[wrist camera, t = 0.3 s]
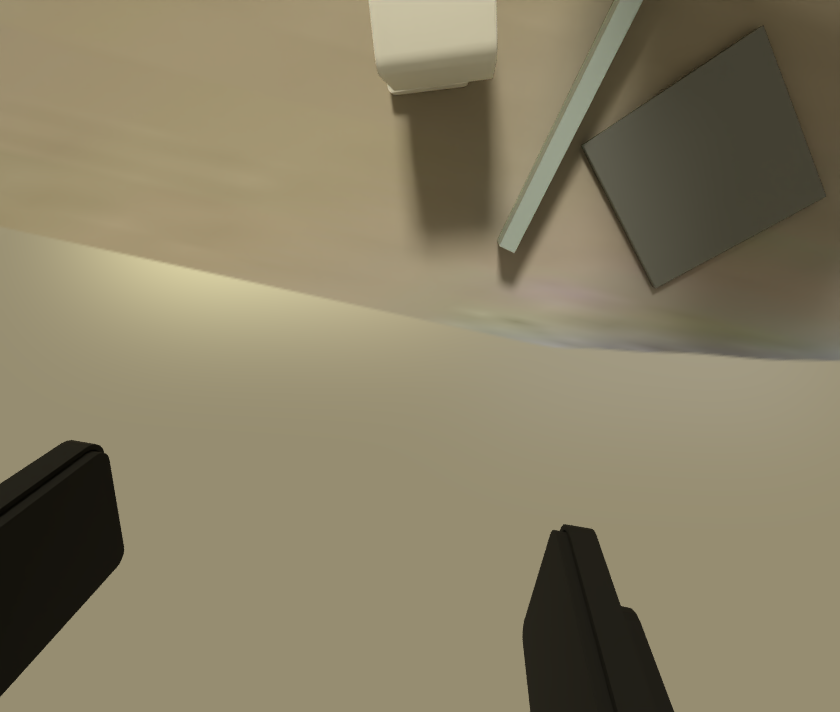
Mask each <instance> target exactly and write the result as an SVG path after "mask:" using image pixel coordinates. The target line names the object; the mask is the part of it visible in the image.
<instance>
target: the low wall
mask: <svg viewBox="0 0 840 712" xmlns="http://www.w3.org/2000/svg"><path fill="white" fill-rule="evenodd" d="M642 1H643V0H614V2H613V4H612V6H611V8H610V10H609V12H608V14H607V16H606V18H605V20H604V22H603V24H602V26H601V28H600V30H599V32H598V34H597V36H596V38H595V41H594V43H593V45H592V47H591V49H590V51H589V53H588V55H587V57H586V59H585V61H584V63H583V65H582V67H581V69H580V71H579V73H578V75H577V77H576V79H575V82H574V84H573V86H572V88H571V90H570V92H569V94H568V96H567V98H566V100H565V102H564V104H563V106H562V108H561V110H560V112H559V114H558V116H557V118H556V121H555V123H554V125H553V127H552V129H551V131H550V133H549V135H548V137H547V139H546V141H545V143H544V145H543V147H542V149H541V151H540V153H539V155H538V157H537V160H536V162H535V164H534V166H533V168H532V170H531V172H530V174H529V176H528V178H527V180H526V182H525V184H524V186H523V188H522V190H521V192H520V194H519V196H518V199H517V201H516V203H515V205H514V207H513V209H512V211H511V213H510V215H509V217H508V219H507V221H506V223H505V225H504V227H503V229H502V231H501V233H500V235H499V237H498V240H497V241H498V244H499V246H500V247H503V248H505V249H507V250H509V251H511V252H513V253H515V251H516V249H517V247H518V245H519V243H520V241H521V239H522V237H523V235H524V233H525V231H526V229H527V227H528V225H529V224H530V222H531V220H532V218H533V216H534V214H535V212H536V210H537V208H538V206H539V204H540V202H541V200H542V198H543V196H544V194H545V192H546V190H547V188H548V186H549V184H550V182H551V180H552V178H553V176H554V174H555V172H556V170H557V168H558V167H559V165H560V163H561V161H562V159H563V157H564V155H565V153H566V151H567V149H568V147H569V145H570V143H571V141H572V139H573V137H574V135H575V133H576V131H577V129H578V127H579V125H580V123H581V121H582V119H583V117H584V115H585V113H586V112H587V110H588V108H589V106H590V104H591V102H592V100H593V98H594V96H595V94H596V92H597V90H598V88H599V86H600V84H601V82H602V80H603V78H604V76H605V74H606V72H607V70H608V68H609V66H610V64H611V62H612V60H613V58H614V56H615V55H616V53H617V51H618V49H619V47H620V45H621V43H622V41H623V39H624V37H625V35H626V33H627V31H628V29H629V27H630V25H631V23H632V21H633V19H634V17H635V15H636V13H637V11H638V9H639V7H640V5H641V3H642Z"/></svg>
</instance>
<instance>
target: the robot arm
mask: <svg viewBox="0 0 840 712" xmlns="http://www.w3.org/2000/svg"><path fill="white" fill-rule="evenodd" d="M123 554H124V544H123V538H122V532H121V526H120V521H119V514H118V509H117V502H116V497H115V490H114V484H113V478H112V472H111V467H110V461H109V457H108V455H107V454H105V453H104V451H103V448H102V447H101V446H99V445H96V444H91V443H85V442H79V441H74V440H70V441H66V442H64V443H61V444H60V445H58V446H57V447H55V448H54V449H52V450H51V451H49V452H48V453H46V454H45V455H43V456H42V457H40V458H39V459H37V460H36V461H34V462H33V463H31V464H30V465H28V466H26V467H25V468H23V469H22V470H20V471H19V472H18V473H16V474H14V475H13V476H11V477H10V478H8V479H7V480H5V481H4V482H2V483H1V484H0V696H1V695H2V694H3V693H4V692H5V691H6V690H7V689H8V688H9V686H10V685H11V684H12V683H13V682H14V681H15V680H16V679H17V678H18V676H19V675H20V674H21V673H22V672H23V671H24V670H25V669H26V668H27V666H28V665H29V664H30V663H31V662H32V661H33V660H34V659H35V657H36V656H37V655H38V654H39V653H40V652H41V651H42V650H43V649H44V648H45V646H46V645H47V644H48V643H49V642H50V641H51V640H52V639H53V638H54V636H55V635H56V634H57V633H58V632H59V631H60V630H61V629H62V628H63V626H64V625H65V624H66V623H67V622H68V621H69V620H70V619H71V618H72V616H73V615H74V614H75V613H76V612H77V611H78V610H79V609H80V608H81V606H82V605H83V604H84V603H85V602H86V601H87V600H88V599H89V598H90V596H91V595H92V594H93V593H94V592H95V591H96V590H97V589H98V587H99V586H100V585H101V584H102V583H103V582H104V581H105V580H106V578H107V577H108V576H109V575H110V574H111V573H112V572H113V571H114V570H115V569H116V567H117V566H118V565H119V563H120V561H121V559H122V557H123ZM523 648H524V657H525V666H526V675H527V685H528V693H529V703H530V712H674V710H673V708H672V705H671V702H670V700H669V697H668V694H667V692H666V689H665V687H664V684H663V681H662V678H661V676H660V673H659V670H658V668H657V665H656V662H655V660H654V657H653V654H652V652H651V649H650V647H649V644H648V641H647V639H646V636H645V633H644V631H643V628H642V625H641V623H640V621H639V619H638V616H637V614H636V613H635V612H634V611H633V610H632V609H631V608H628V607H622V606H621V605H620V602H619V600H618V597H617V594H616V591H615V588H614V585H613V582H612V579H611V577H610V573H609V570H608V568H607V565H606V562H605V559H604V556H603V553H602V550H601V548H600V544H599V541H598V539H597V536H596V534H595V532H594V530H593V529H589V528H584V527H578V526H572V525H566V524H565V525H563V526H562V527H561V529H560V531H556V530H552V532H551V534H550V537H549V540H548V544H547V547H546V551H545V554H544V557H543V560H542V564H541V567H540V570H539V574H538V577H537V580H536V584H535V587H534V590H533V593H532V597H531V600H530V604H529V607H528V610H527V613H526V617H525V620H524V625H523Z"/></svg>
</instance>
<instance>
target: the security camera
mask: <svg viewBox="0 0 840 712" xmlns="http://www.w3.org/2000/svg"><path fill="white" fill-rule="evenodd" d="M368 1H369V10H370V19H371V28H372V37H373V46H374V55H375V62H376V68H377V72H378V74H379V76H380V77H381V78H382V79H383V80H384V81H385V82H386V83H387V85H388V90H389V91H390V92H391V93H392V94H393V95H402V94H410V93H418V92H426V91H434V90H442V89H451V88H459V87H465V86H467V85H468V82H471V81H479V80H487V79H492V78H493V74H494V70H495V65H496V61H497V0H368Z"/></svg>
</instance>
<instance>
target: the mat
mask: <svg viewBox="0 0 840 712" xmlns="http://www.w3.org/2000/svg"><path fill="white" fill-rule="evenodd" d="M581 147H582V149H583V150H584V152H585V154H586V156H587V158H588V160H589V162H590V164H591V166H592V168H593V170H594V172H595V174H596V176H597V178H598V180H599V182H600V184H601V186H602V188H603V190H604V192H605V194H606V196H607V198H608V200H609V202H610V203H611V205H612V207H613V209H614V211H615V213H616V215H617V217H618V219H619V221H620V223H621V225H622V227H623V229H624V231H625V233H626V235H627V237H628V239H629V241H630V243H631V245H632V247H633V249H634V251H635V253H636V255H637V257H638V258H639V260H640V262H641V264H642V266H643V268H644V270H645V272H646V274H647V276H648V278H649V280H650V282H651V284H652V286H653V287H654V288H657V287H659V286H661V285H663V284H665V283H667V282H669V281H670V280H672V279H674V278H676V277H678V276H680V275H682V274H683V273H685V272H687V271H689V270H691V269H693V268H694V267H696V266H698V265H700V264H702V263H704V262H706V261H707V260H709V259H711V258H713V257H715V256H717V255H719V254H720V253H722V252H724V251H726V250H728V249H730V248H732V247H733V246H735V245H737V244H739V243H741V242H743V241H745V240H746V239H748V238H750V237H752V236H754V235H756V234H757V233H759V232H761V231H763V230H765V229H767V228H769V227H770V226H772V225H774V224H776V223H778V222H780V221H782V220H783V219H785V218H787V217H789V216H791V215H793V214H795V213H796V212H798V211H800V210H802V209H804V208H806V207H808V206H809V205H811V204H813V203H815V202H817V201H819V200H821V199H822V198H824V197H826V194H825V192H824V189H823V186H822V183H821V181H820V178H819V175H818V173H817V170H816V167H815V164H814V162H813V159H812V156H811V154H810V151H809V148H808V145H807V143H806V140H805V137H804V135H803V132H802V129H801V126H800V124H799V121H798V118H797V116H796V113H795V110H794V107H793V105H792V102H791V99H790V97H789V94H788V91H787V88H786V86H785V83H784V80H783V77H782V75H781V72H780V69H779V67H778V64H777V61H776V58H775V56H774V53H773V50H772V48H771V45H770V42H769V39H768V37H767V34H766V31H765V29H764V26H761V27H759V28H757V29H756V30H754V31H753V32H751V33H750V34H748V35H747V36H745V37H744V38H742V39H741V40H739V41H738V42H736V43H735V44H733V45H732V46H730V47H729V48H727V49H726V50H724V51H723V52H721V53H720V54H718V55H717V56H715V57H714V58H712V59H711V60H709V61H708V62H706V63H705V64H703V65H702V66H700V67H699V68H697V69H696V70H694V71H693V72H691V73H690V74H688V75H687V76H685V77H684V78H682V79H681V80H679V81H678V82H676V83H675V84H673V85H672V86H670V87H669V88H667V89H666V90H664V91H663V92H661V93H660V94H658V95H657V96H655V97H654V98H652V99H651V100H649V101H648V102H646V103H645V104H643V105H642V106H640V107H639V108H637V109H636V110H634V111H633V112H631V113H630V114H628V115H627V116H625V117H624V118H622V119H621V120H619V121H618V122H616V123H615V124H613V125H612V126H610V127H609V128H607V129H606V130H604V131H603V132H601V133H600V134H598V135H597V136H595V137H594V138H592V139H591V140H589V141H588V142H586V143H585V144H583V145H582V146H581Z"/></svg>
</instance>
